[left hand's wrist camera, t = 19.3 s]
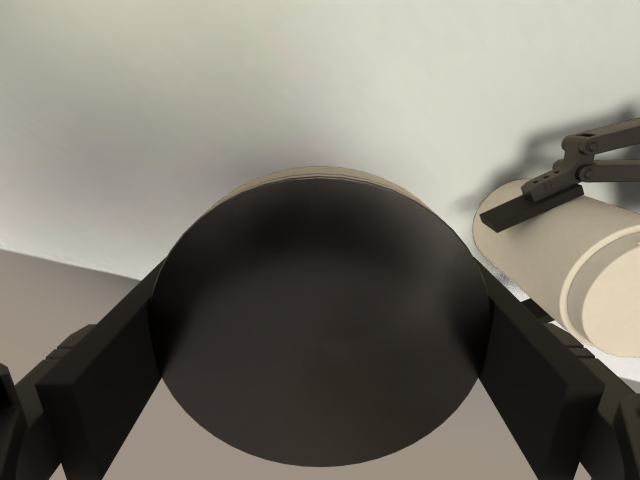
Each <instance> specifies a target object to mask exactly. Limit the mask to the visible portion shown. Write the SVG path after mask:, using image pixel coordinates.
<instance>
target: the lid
mask: <svg viewBox="0 0 640 480" xmlns="http://www.w3.org/2000/svg"><path fill="white" fill-rule="evenodd" d="M149 330H150V336H151V342H152V347H153V352H154V357H155V361H156V365H157V367H158V369H159V371H160V374H161V376H162V378H163V380H164V382H165V384H166V386H167V387H168V389H169V390H170V392H171V394H172V395H173V397H174V398H175V399H176V401H177V402H178V403H179V404H180V405H181V407H182V408H183V409H184V410H185V412H186V413H187V414H188V415H189V416H191V417H192V418H193V419H194V420H195V421H196V422H197V423H198V424H199V425H200V426H202V427H203V428H204V429H206V430H207V431H208V432H210V433H211V434H212V435H214V436H215V437H217V438H218V439H220V440H222V441H224V442H225V443H227V444H229V445H230V446H232V447H235V448H237V449H239V450H241V451H243V452H246V453H248V454H251V455H254V456H257V457H259V458H262V459H265V460H270V461H274V462H278V463H282V464H289V465H296V466H305V467H333V466H345V465H351V464H358V463H362V462H367V461H370V460H374V459H378V458H381V457H384V456H387V455H389V454H392V453H395V452H397V451H399V450H401V449H403V448H405V447H408V446H410V445H412V444H414V443H415V442H417V441H419V440H420V439H422V438H423V437H425V436H427V435H428V434H430V433H431V432H432V431H433V430H435V429H436V428H437V427H439V426H440V425H441V424H442V423H444V422H445V421H446V420H447V419H448V418H449V417H450V416H451V415H452V414H453V413H454V412H455V411H456V410H457V408H458V407H459V406H460V405H461V403H462V402H463V401H464V400H465V398H466V397H467V396H468V394H469V393H470V391H471V389H472V387H473V386H474V384H475V382H476V381H477V379H478V377H479V374H480V372H481V369H482V367H483V365H484V362H485V358H486V353H487V349H488V344H489V338H490V332H491V311H490V302H489V297H488V292H487V288H486V284H485V282H484V279H483V276H482V274H481V271H480V269H479V266H478V264H477V263H476V261H475V259H474V258H473V256H472V254H471V252H470V251H469V249H468V247H467V246H466V245H465V244H464V242H463V241H462V240H461V239H460V238H459V236H458V235H457V234H456V233H455V231H454V230H453V229H452V228H451V227H450V226H448V225H447V224H446V223H445V222H444V221H443V220H442V219H441V218H440V217H439V216H438V215H436V214H435V213H434V212H433V211H432V210H431V209H430V208H429V207H428V206H427V205H425V204H424V203H423V202H422V201H421V200H420V199H418V198H417V197H415V196H414V195H412V194H411V193H409V192H408V191H407V190H405V189H404V188H402V187H400V186H398V185H396V184H394V183H392V182H390V181H388V180H385V179H383V178H381V177H377V176H374V175H371V174H368V173H365V172H362V171H357V170H352V169H346V168H341V167H323V166H314V167H301V168H293V169H288V170H284V171H279V172H274V173H271V174H268V175H266V176H263V177H260V178H257V179H255V180H252V181H250V182H248V183H246V184H244V185H243V186H241V187H239V188H237V189H235V190H233V191H232V192H230V193H229V194H228V195H226V196H225V197H223V198H222V199H221V200H219V201H218V202H217V203H215V204H214V205H213V206H212V207H211V208H210V209H209V210H208V211H207V212H206V213H204V214H203V215H202V216H201V217H200V218H199V219H198V220H197V221H196V222H195V223H194V224H193V225H192V226H191V227H190V228H189V229H188V230H187V231H186V232H185V233H184V234H183V235H182V236H181V237H180V239H179V240H178V241H177V243H176V244H175V245H174V247H173V248H172V249H171V251H170V252H169V254H168V256H167V258H166V260H165V261H164V263H163V265H162V267H161V269H160V271H159V274H158V277H157V279H156V282H155V285H154V288H153V292H152V298H151V303H150V309H149Z"/></svg>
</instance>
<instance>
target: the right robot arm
mask: <svg viewBox="0 0 640 480" xmlns="http://www.w3.org/2000/svg"><path fill="white" fill-rule="evenodd" d="M639 143H640V118H636V119H632V120H628V121H624V122H620V123H616V124H612V125H608V126H604V127H600V128H596V129H592V130H588V131H585V132H581V133H577V134H573V135H569V136H567V137H565V138H564V139H563V141H562V144H561V146H562V149H563V150H564V151H565V155H564V160H563V159H561V160H558V161H556V162H555V164H554V165H553V170H551V171H549V172H547V173H545V174H543V175H541V176H539V177H536V178H534V179H532V180H530V181H528V182H526V183H525V184H524V185H523V186H521V190H522V194H523V195H521V196H519V197H516V198H514V199H512V200H510V201H508V202H505V203H503V204H501V205H499V206H497V207H494V208H492V209H490V210H488V211H486V212H484V213H481V214H479V216H480V219H481V221H482V223H483V224H485V225H486V226H488V227H489V228H490V229H492V230H493V231H495V232H496V233H499V232H501V231H503V230H506V229H508V228H510V227H512V226H515V225H517V224H519V223H521V222H524V221H526V220H528V219H530V218H533V217H535V216H537V215H539V214H542V213H544V212H546V211H548V210H551V209H553V208H555V207H557V206H560V205H562V204H564V203H566V202H569V201H571V200H573V199H576V198H578V197H580V196H582V195H584V192H583V188H582V185H579V184H578V183H580V182H640V160H594V155H595V154H599V153H603V152H607V151H611V150H615V149H619V148H623V147H627V146H631V145H635V144H639ZM521 303H522V304H523V305H524V306H525V307H526V308H527V309H528V310H529V311H530V312H531V313H532V314H533V315H534V316H535V317H536V318H538V319H539V320H540V321H541V322H542V323H549V322H551V321H554V319H553V318H552V317H551V316H550V315H549V314H548V313H547V312H546V311H545V310H543V309H542V308H541V307H540V306H539V305H538V304H537V303H536V302H535V301H533V300H532V299H531V298H530V299H527V300H525V301H522V302H521Z"/></svg>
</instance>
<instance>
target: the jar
mask: <svg viewBox="0 0 640 480" xmlns="http://www.w3.org/2000/svg"><path fill="white" fill-rule="evenodd" d="M530 180H532V179H521V180H515V181H512V182H509V183H506V184H504V185H502V186H500V187H499V188H497V189H496V190H494V191H493V192H492V193H491V194H490V195H489V196H488V197H487V198H486V199H485V200H484V201H483V202H482V204H481V205H480V207H479V209H478V211H477V213H476V215H475V219H474V223H473V237H474V241H475V244H476V246H477V248H478V249H479V251H480V252H481V253H482V254H483V255H484V256H485V257H486V258H487V259H488V260H489V261H490V262H492V263H493V264H494V265H495V266H496V267H497V268H498V269H499V270H500V271H501V272H503V273H504V274H505V275H506V276H507V277H508V278H509V279H510V280H511V281H512V282H514V283H515V284H516V285H517V286H518V287H519V288H520V289H521V290H522V291H524V292H525V293H526V294H527V295H528V296H529V297H530V298H531V299H532V300H533V301H535V302H536V303H537V304H538V305H539V306H540V307H541V308H542V309H543V310H545V311H546V312H547V313H548V314H549V315H550V316H551V317H552V318H553V319H554V320H556V321H557V322H558V323H559V324H560V325H561V326H562V327H563V328H564V329H566V330H567V331H568V332H569V333H570V334H571V335H572V336H573V337H575V338H576V339H577V340H579V341H581V342H582V343H585V344H587V345H590V346H593V347H597V348H598V349H600V350H601V351H603V352H605V353H608V354H610V355H614V356H618V357H626V358H637V357H640V214H637V213H634V212H631V211H628V210H625V209H622V208H619V207H616V206H613V205H610V204H607V203H605V202H602V201H599V200H596V199H593V198H590V197H587V196H584V195H582V196H580V197H578V198H576V199H573V200H571V201H569V202H566V203H564V204H562V205H560V206H557V207H555V208H553V209H551V210H548V211H546V212H544V213H542V214H539V215H537V216H535V217H533V218H530V219H528V220H526V221H524V222H521V223H519V224H517V225H515V226H512V227H510V228H508V229H506V230H503V231H501V232H499V233H496V232H495V231H493V230H492V229H490V228H489V227H488V226H486V225H485V224H483V223H482V221H481V219H480V216H479V214H481V213H484V212H486V211H488V210H490V209H492V208H494V207H497V206H499V205H501V204H503V203H505V202H508V201H510V200H512V199H514V198H516V197H519V196H521V195H523V194H522V190H521V186H523V185H524V184H525V183H526V182H528V181H530Z"/></svg>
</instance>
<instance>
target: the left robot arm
mask: <svg viewBox="0 0 640 480" xmlns="http://www.w3.org/2000/svg"><path fill="white" fill-rule="evenodd" d="M166 258H167V257H166ZM166 258H165V259H164V260H163V261H162V262H161V263H160V264H158V265H157V266H156V267H155V268H154V269H153V270H152V271H151V272H150V273H149V274H148V275H147V276H146V277H145V278H144V279H143V280H142V281H141V282H140V283H139V284H138V285H137V286H136V287H135V288H134V289H133V290H132V291H131V292H130V293H129V294H128V295H126V296H125V297H124V298H123V299H122V300H121V301H120V302H119V303H118V304H117V305H116V306H115V307H114V308H113V309H112V310H111V311H110V312H109V313H108V314H107V315H106V316H105V317H104V318H103V319H102V320H101V321H100V322H99V323H98V324H89V325H87V326H85V327H83V328H82V329H80V330H78V331H76V332H75V333H73V334H71V335H70V336H69V337H68V338H66V339H65V340H64V341H63V342H62V343H61V344H60V345H59V346H58V347H57V349H55V350H53V351H52V352H51V353H50V354H49V355H48V356H47V357H46V359H45V360H42V361H41V362H40V363H39V364H38V365H37V366H36V367H35V368H33V369H32V370H31V371H30V372H29V373H28V374H27V375H26V376H25V377H24V378H22V379H21V380H20V381H19V382H18V383H17V384H16V385H15V386H14V383H13V381H12V378H11V375H10V372H9V370H8V367H7V366H5V365H3V364H1V363H0V480H49V478H50V477H51V476H52V474H53V473H54V472H55V470H56V469H57V467H58V466H59V465H60V463H61V464H62V467H63V470H64V472H65V475H66V478H67V480H102V479H103V477H104V475H105V473H106V472H107V470H108V468H109V467H110V465H111V463H112V461H113V460H114V458H115V456H116V455H117V453H118V451H119V449H120V448H121V446H122V444H123V443H124V441H125V439H126V438H127V436H128V434H129V433H130V431H131V429H132V427H133V426H134V424H135V422H136V421H137V419H138V417H139V415H140V414H141V412H142V410H143V409H144V407H145V405H146V404H147V402H148V400H149V398H150V397H151V395H152V393H153V392H154V390H155V388H156V387H157V385H158V383H159V381H160V380H161V378H162V376H161V374H160V371H159V369H158V367H157V365H156V361H155V357H154V352H153V347H152V342H151V336H150V330H149V309H150V303H151V298H152V292H153V288H154V285H155V282H156V279H157V277H158V274H159V271H160V269H161V267H162V265H163V263H164V261H165V260H166ZM473 258H474V259H475V261H476V263H477V264H478V266H479V269H480V271H481V274H482V276H483V279H484V282H485V284H486V288H487V292H488V297H489V302H490V311H491V332H490V338H489V344H488V349H487V353H486V358H485V362H484V365H483V367H482V369H481V372H480V374H479V377H478V378H479V379H480V381H481V383H482V384H483V386H484V388H485V390H486V391H487V393H488V395H489V396H490V398H491V400H492V401H493V403H494V405H495V406H496V408H497V410H498V412H499V413H500V415H501V417H502V419H503V420H504V422H505V424H506V425H507V427H508V429H509V430H510V432H511V434H512V435H513V437H514V439H515V441H516V442H517V444H518V446H519V447H520V449H521V451H522V453H523V454H524V456H525V458H526V459H527V461H528V463H529V465H530V466H531V468H532V470H533V471H534V473H535V475H536V476H537V478H538V480H573V479H574V476H575V473H576V470H577V467H578V465H579V462H581V464H582V465H583V466H584V468H585V469H586V471H587V472H588V473H589V475H590V476H591V477H592V478H591V480H640V394H636V393H635V392H634V391H633V390H632V389H631V388H630V387H629V386H628V385H627V384H625V383H624V382H623V381H622V380H621V379H620V378H619V377H618V376H617V375H615V374H614V373H613V372H612V371H611V370H610V369H609V368H608V367H607V366H605V365H604V364H603V363H602V362H601V361H600V360H599V359H595V356H594V355H593V354H592V353H591V352H590V351H589V350H588V349H587V348H584V347H583V345H582V344H581V343H580V342H579V341H578V340H577V339H576V338H574V337H573V336H572V335H571V334H570V333H568V332H566V331H565V330H563V329H561V328H559V327H557V326H556V325H554V324H552V323H542V322H541V321H540V320H539V319H538V318H536V317H535V316H534V315H533V314H532V313H531V312H530V311H529V310H528V309H527V308H526V307H525V306H524V305H523V304H522V303H521V302H520V301H519V300H518V299H517V298H516V297H515V296H514V295H513V294H512V293H511V292H510V291H509V290H508V289H507V288H506V287H504V286H503V285H502V284H501V283H500V282H499V281H498V280H497V279H496V278H495V277H494V276H493V275H492V274H491V273H490V272H489V271H488V270H487V269H486V268H485V267H484V266H483V265H482V264H481V263H480V262H479V261H478V260H477V259H476V258H475V257H473Z"/></svg>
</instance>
